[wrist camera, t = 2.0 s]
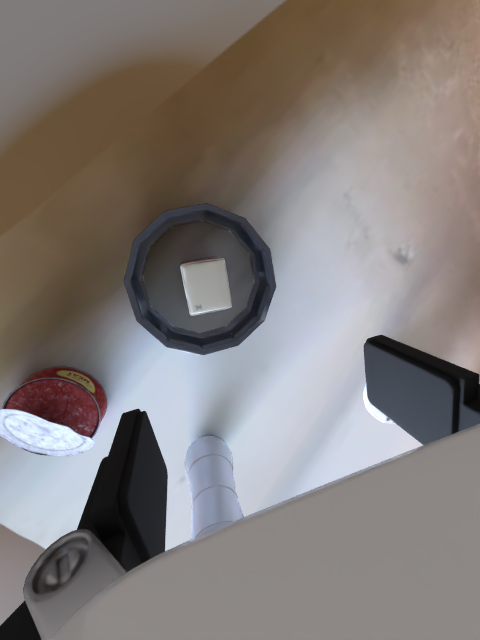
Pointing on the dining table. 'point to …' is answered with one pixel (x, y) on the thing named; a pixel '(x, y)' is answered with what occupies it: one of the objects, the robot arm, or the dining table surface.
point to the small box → (206, 285)
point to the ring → (216, 337)
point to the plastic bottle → (211, 485)
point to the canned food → (54, 412)
